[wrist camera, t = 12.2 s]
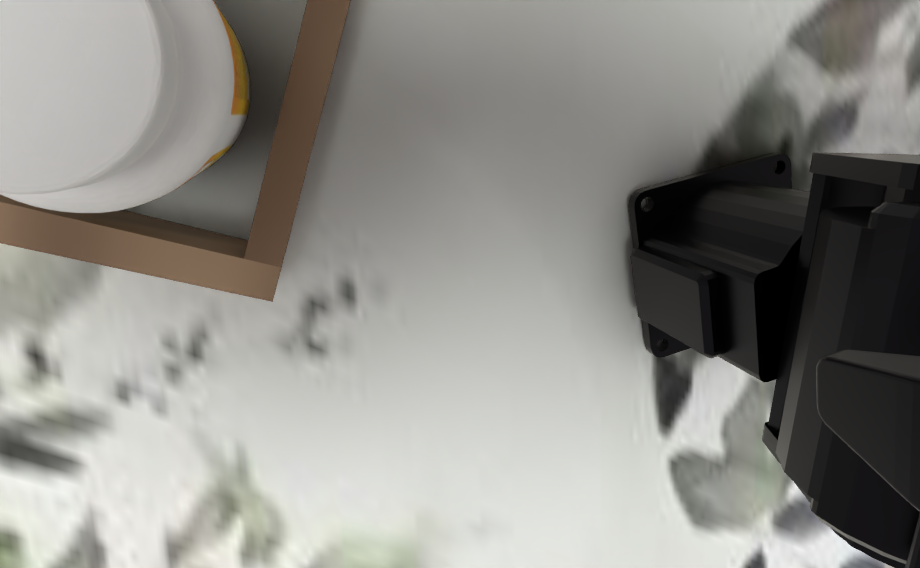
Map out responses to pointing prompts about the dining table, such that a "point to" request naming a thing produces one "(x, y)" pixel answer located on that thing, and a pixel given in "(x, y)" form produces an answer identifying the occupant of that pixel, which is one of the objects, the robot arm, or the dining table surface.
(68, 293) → the dining table surface
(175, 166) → the supplement bottle
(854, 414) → the robot arm
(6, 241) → the walnut collar
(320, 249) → the dining table surface
